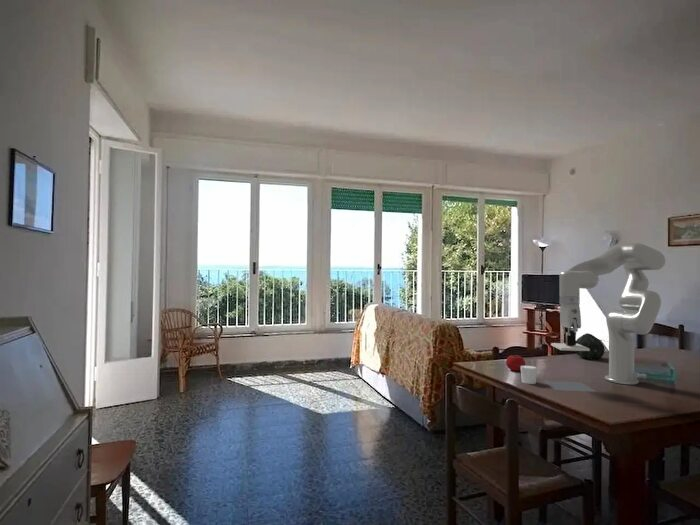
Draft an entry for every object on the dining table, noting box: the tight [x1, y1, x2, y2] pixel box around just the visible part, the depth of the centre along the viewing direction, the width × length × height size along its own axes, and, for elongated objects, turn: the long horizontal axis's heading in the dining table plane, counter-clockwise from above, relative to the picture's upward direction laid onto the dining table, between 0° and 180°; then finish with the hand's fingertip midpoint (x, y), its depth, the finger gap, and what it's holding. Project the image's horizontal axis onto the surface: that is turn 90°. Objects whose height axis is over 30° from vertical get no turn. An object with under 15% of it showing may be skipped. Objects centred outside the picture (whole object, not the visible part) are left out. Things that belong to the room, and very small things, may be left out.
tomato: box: [505, 353, 526, 372], centre depth 202 cm, size 9×9×8 cm
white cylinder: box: [520, 364, 538, 385], centre depth 180 cm, size 7×7×7 cm
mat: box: [543, 380, 598, 393], centre depth 174 cm, size 16×14×1 cm
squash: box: [574, 332, 606, 360], centre depth 234 cm, size 14×15×15 cm
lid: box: [550, 332, 590, 352], centre depth 174 cm, size 11×11×6 cm
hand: (569, 343), depth 174 cm, fingers closed on lid, 2 cm apart
